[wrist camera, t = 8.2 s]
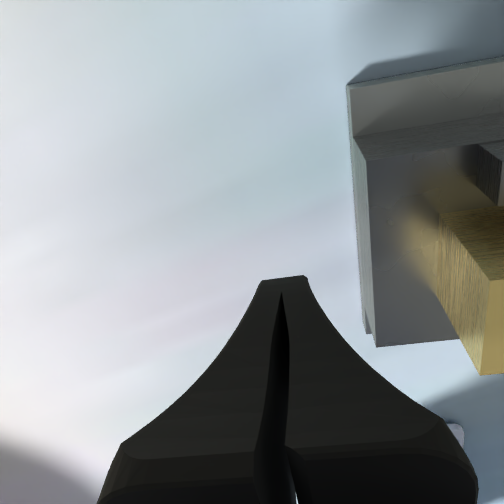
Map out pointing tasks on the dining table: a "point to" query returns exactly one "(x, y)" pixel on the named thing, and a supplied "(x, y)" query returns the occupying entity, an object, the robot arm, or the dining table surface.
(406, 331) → the grey stepped metal block
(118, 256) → the dining table surface
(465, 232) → the link bar
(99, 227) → the dining table surface
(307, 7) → the dining table surface
